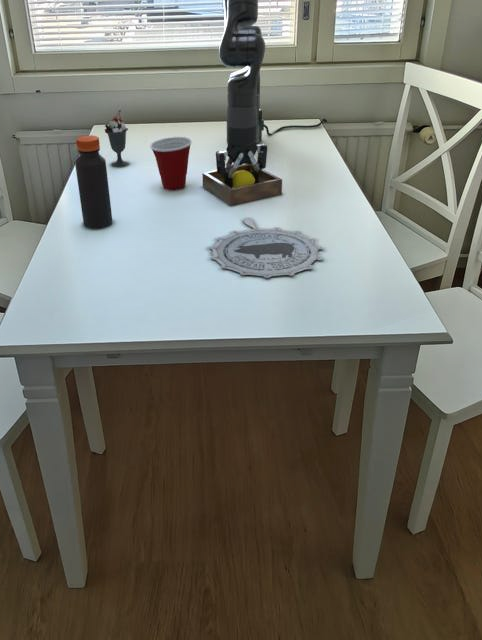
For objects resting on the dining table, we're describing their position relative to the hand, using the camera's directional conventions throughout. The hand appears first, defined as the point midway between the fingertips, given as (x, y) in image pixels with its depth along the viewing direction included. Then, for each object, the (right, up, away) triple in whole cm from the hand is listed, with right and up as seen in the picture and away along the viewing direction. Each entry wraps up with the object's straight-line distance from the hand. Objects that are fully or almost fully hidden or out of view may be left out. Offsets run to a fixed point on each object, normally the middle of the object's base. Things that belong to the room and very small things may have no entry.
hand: (241, 188), depth 164 cm
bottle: (-35, -12, -15) cm, 40 cm away
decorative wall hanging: (+3, -19, -27) cm, 33 cm away
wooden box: (0, -1, 0) cm, 1 cm away
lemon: (0, -1, +1) cm, 1 cm away
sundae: (-34, +11, +21) cm, 42 cm away
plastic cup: (-18, +1, +4) cm, 19 cm away
